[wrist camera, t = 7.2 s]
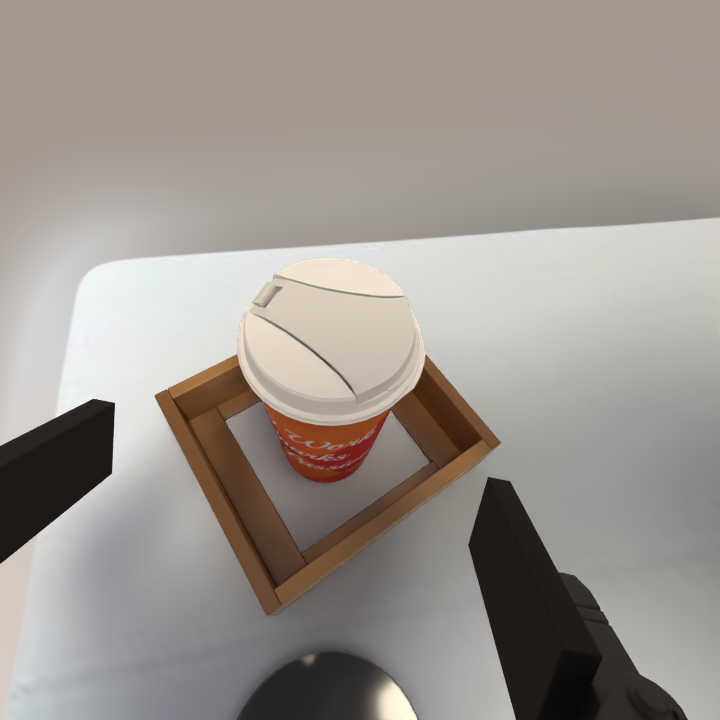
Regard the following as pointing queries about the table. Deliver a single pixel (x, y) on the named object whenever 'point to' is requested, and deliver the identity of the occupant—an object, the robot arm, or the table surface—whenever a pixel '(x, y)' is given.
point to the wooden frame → (255, 510)
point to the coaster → (328, 691)
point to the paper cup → (329, 360)
